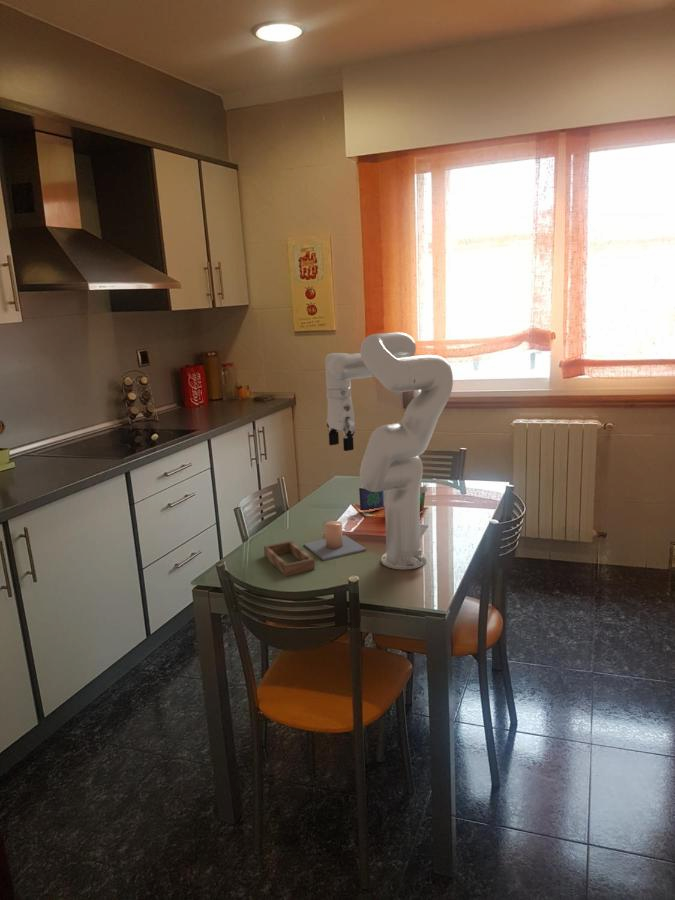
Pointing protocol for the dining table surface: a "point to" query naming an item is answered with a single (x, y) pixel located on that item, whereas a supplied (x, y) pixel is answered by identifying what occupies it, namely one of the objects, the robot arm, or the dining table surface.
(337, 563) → the dining table surface
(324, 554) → the rubber mat
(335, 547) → the clay cylinder
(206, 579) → the dining table surface
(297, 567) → the pocket frame
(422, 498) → the food container
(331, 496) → the dining table surface
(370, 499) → the flask
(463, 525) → the dining table surface
